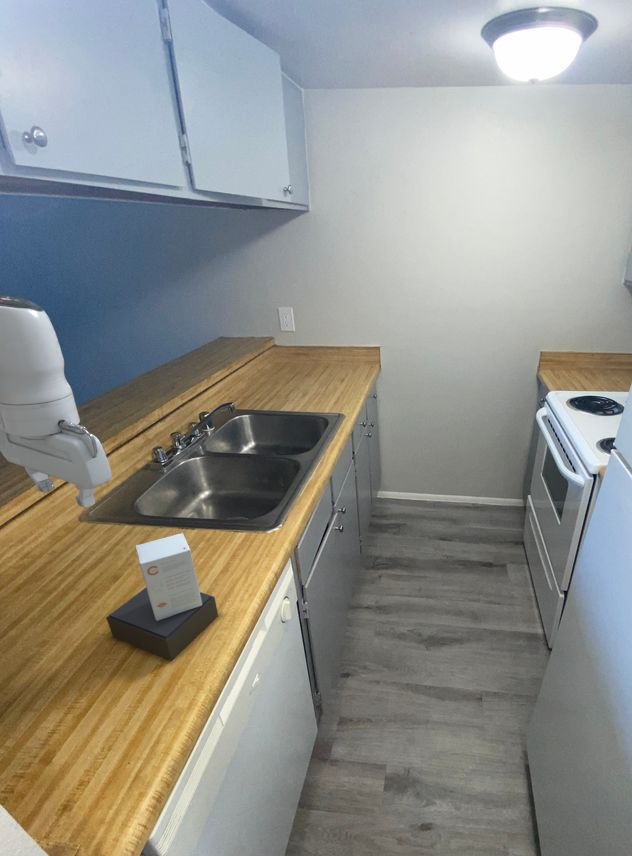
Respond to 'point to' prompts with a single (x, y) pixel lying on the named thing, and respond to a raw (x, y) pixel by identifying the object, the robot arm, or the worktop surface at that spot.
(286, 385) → the worktop surface
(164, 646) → the dark gray box
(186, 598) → the small box
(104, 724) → the worktop surface
